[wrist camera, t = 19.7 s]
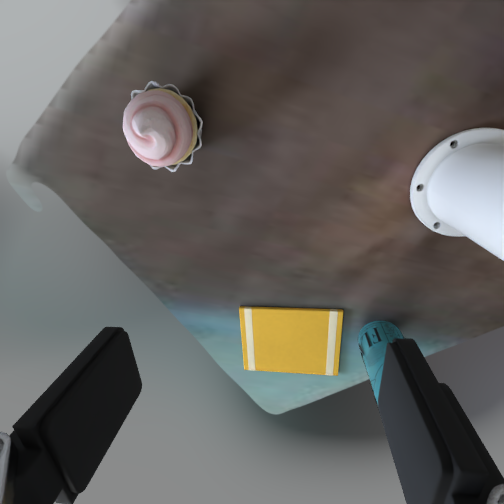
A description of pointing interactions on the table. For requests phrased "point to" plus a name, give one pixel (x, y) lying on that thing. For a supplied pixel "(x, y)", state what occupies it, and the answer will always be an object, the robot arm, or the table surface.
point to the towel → (291, 339)
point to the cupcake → (162, 126)
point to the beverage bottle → (376, 348)
